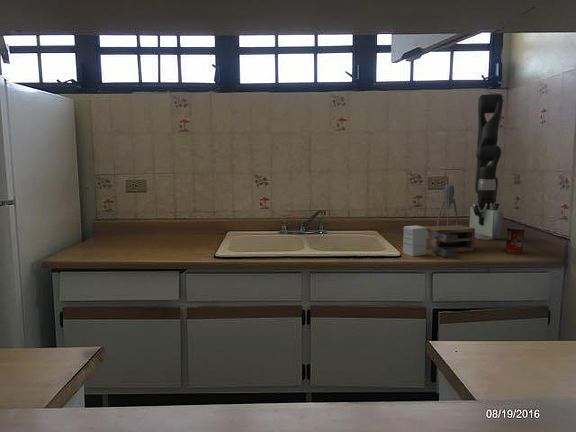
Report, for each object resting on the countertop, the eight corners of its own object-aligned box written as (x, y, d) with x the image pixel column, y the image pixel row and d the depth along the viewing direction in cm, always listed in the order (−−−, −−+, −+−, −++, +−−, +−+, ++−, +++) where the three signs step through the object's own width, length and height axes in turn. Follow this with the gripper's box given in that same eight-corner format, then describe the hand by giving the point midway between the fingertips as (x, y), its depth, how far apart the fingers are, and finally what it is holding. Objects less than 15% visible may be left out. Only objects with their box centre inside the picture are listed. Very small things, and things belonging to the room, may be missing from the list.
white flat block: (496, 238, 202) (498, 212, 200) (468, 230, 221) (469, 206, 219) (504, 237, 203) (506, 212, 201) (476, 230, 222) (477, 206, 220)
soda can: (513, 254, 201) (515, 227, 199) (502, 251, 207) (503, 225, 206) (526, 253, 203) (528, 227, 201) (514, 250, 209) (516, 224, 208)
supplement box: (415, 251, 207) (416, 225, 205) (426, 255, 200) (427, 227, 198) (402, 253, 204) (403, 226, 203) (412, 256, 198) (413, 228, 196)
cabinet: (419, 248, 214) (419, 226, 213) (459, 245, 220) (460, 224, 218) (444, 258, 194) (446, 234, 193) (488, 255, 200) (489, 232, 198)
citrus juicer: (447, 246, 220) (450, 185, 216) (429, 243, 227) (431, 184, 223) (458, 242, 227) (461, 184, 223) (440, 240, 235) (443, 183, 231)
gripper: (493, 187, 215) (491, 222, 217) (468, 188, 211) (466, 224, 214) (505, 188, 208) (502, 225, 210) (479, 189, 204) (477, 226, 207)
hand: (484, 224), depth 212 cm, fingers closed on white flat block, 3 cm apart
